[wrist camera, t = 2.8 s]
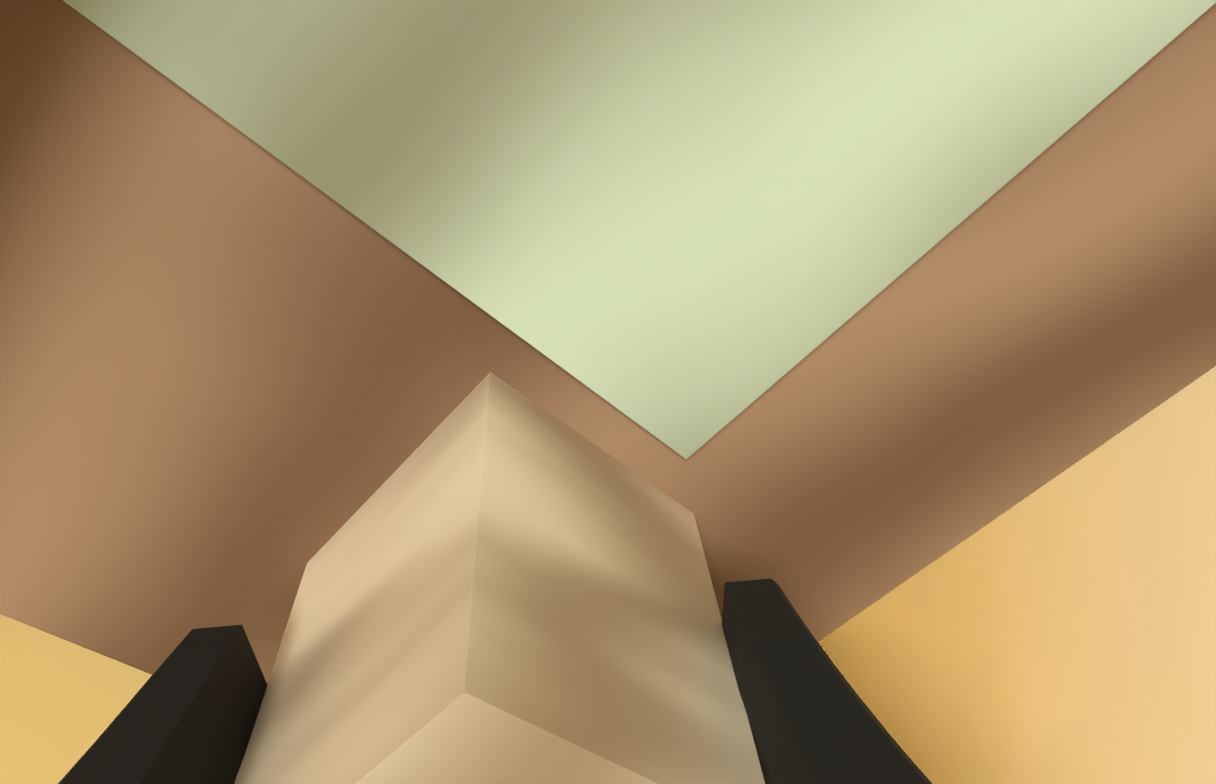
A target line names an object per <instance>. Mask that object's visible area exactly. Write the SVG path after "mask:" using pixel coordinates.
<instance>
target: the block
mask: <svg viewBox="0 0 1216 784" xmlns="http://www.w3.org/2000/svg"><path fill="white" fill-rule="evenodd" d="M234 784H765V781H764V777H763V774H762V770H761V766H760V762H759V759H758V755H757V751H756V747H755V743H754V740H753V736H752V732H751V728H750V724H749V721H748V717H747V713H746V710H745V707H744V704H743V701H742V698H741V695H740V692H739V689H738V685H737V682H736V678H735V674H734V670H733V666H732V663H731V659H730V655H729V651H728V647H727V644H726V640H725V636H724V632H723V628H722V619H721V615H720V611H719V607H718V603H717V600H716V596H715V592H714V588H713V584H712V581H711V577H710V573H709V569H708V566H707V562H706V558H705V554H704V550H703V547H702V543H701V539H700V535H699V532H698V528H697V524H696V520H695V516H694V513H692V512H691V511H689V510H688V509H686V508H685V507H684V506H682V505H681V504H679V503H678V502H676V501H675V500H674V499H672V498H671V497H669V496H668V495H666V494H665V493H664V492H662V491H661V490H659V489H658V488H656V487H655V486H653V485H652V484H651V483H649V482H648V481H646V480H645V479H643V478H642V477H641V476H639V475H638V474H636V473H635V472H633V471H632V470H631V469H629V468H628V467H626V466H625V465H623V464H622V463H620V462H619V461H618V460H616V459H615V458H613V457H612V456H610V455H609V454H608V453H606V452H605V451H603V450H602V449H600V448H599V447H598V446H596V445H595V444H593V443H592V442H590V441H589V440H588V439H586V438H585V437H583V436H582V435H580V434H579V433H577V432H576V431H575V430H573V429H572V428H570V427H569V426H567V425H566V424H565V423H563V422H562V421H560V420H559V419H557V418H556V417H555V416H553V415H552V414H550V413H549V412H547V411H546V410H544V409H543V408H542V407H540V406H539V405H537V404H536V403H534V402H533V401H532V400H530V399H529V398H527V397H526V396H524V395H523V394H522V393H520V392H519V391H517V390H516V389H514V388H513V387H512V386H510V385H509V384H507V383H506V382H504V381H503V380H501V379H500V378H499V377H497V376H496V375H494V374H493V373H491V372H490V373H489V374H488V375H487V376H486V377H485V378H484V379H483V380H482V381H481V382H480V383H479V384H478V385H477V386H476V387H475V389H474V390H473V391H472V392H471V393H470V394H469V395H468V396H467V397H466V398H465V399H464V400H463V401H462V402H461V403H460V404H459V405H458V406H457V407H456V408H455V409H454V410H453V411H452V412H451V414H450V415H449V416H448V417H447V418H446V419H445V420H444V421H443V422H442V423H441V424H440V425H439V426H438V427H437V428H436V429H435V430H434V431H433V432H432V433H431V434H430V435H429V436H428V438H427V439H426V440H425V441H424V442H423V443H422V444H421V445H420V446H419V447H418V448H417V449H416V450H415V451H414V452H413V453H412V454H411V455H410V456H409V457H408V458H407V459H406V460H405V462H404V463H403V464H402V465H401V466H400V467H399V468H398V469H397V470H396V471H395V472H394V473H393V474H392V475H391V476H390V477H389V478H388V479H387V480H386V481H385V482H384V483H383V484H382V486H381V487H380V488H379V489H378V490H377V491H376V492H375V493H374V494H373V495H372V496H371V497H370V498H369V499H368V500H367V501H366V502H365V503H364V504H363V505H362V506H361V507H360V508H359V509H358V511H357V512H356V513H355V514H354V515H353V516H352V517H351V518H350V519H349V520H348V521H347V522H346V523H345V524H344V525H343V526H342V527H341V528H340V529H339V530H338V531H337V532H336V533H335V535H334V536H333V537H332V538H331V539H330V540H329V541H328V542H327V543H326V544H325V545H324V546H323V547H322V548H321V549H320V550H319V551H318V552H317V553H316V554H315V555H314V556H313V557H312V559H311V560H310V561H309V562H308V563H307V565H306V568H305V571H304V574H303V577H302V580H301V583H300V586H299V589H298V592H297V595H296V598H295V601H294V604H293V607H292V610H291V613H290V616H289V619H288V622H287V625H286V628H285V631H284V635H283V638H282V641H281V644H280V647H279V650H278V653H277V656H276V659H275V662H274V665H273V668H272V671H271V674H270V677H269V680H268V683H267V688H266V691H265V694H264V697H263V701H262V704H261V707H260V710H259V713H258V716H257V719H256V722H255V725H254V728H253V731H252V734H251V737H250V740H249V743H248V746H247V749H246V752H245V755H244V758H243V761H242V763H241V766H240V769H239V771H238V774H237V777H236V780H235V783H234Z"/></svg>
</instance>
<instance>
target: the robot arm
mask: <svg viewBox="0 0 1216 784" xmlns="http://www.w3.org/2000/svg"><path fill="white" fill-rule="evenodd" d="M722 628H723V632H724V636H725V640H726V644H727V647H728V651H729V655H730V659H731V663H732V666H733V670H734V674H735V678H736V682H737V685H738V689H739V692H740V695H741V698H742V701H743V704H744V707H745V710H746V713H747V717H748V721H749V724H750V728H751V732H752V736H753V740H754V743H755V747H756V751H757V755H758V759H759V762H760V766H761V770H762V774H763V777H764V781H765V784H932V783H931V782H930V781H929V780H928V778H927V777H926V776H925V775H924V774H923V773H922V772H921V770H920V769H919V768H918V767H917V766H916V765H915V764H914V763H913V761H912V760H911V759H910V758H909V757H908V756H907V754H906V753H905V752H904V751H903V750H902V749H901V747H900V746H899V745H898V744H897V743H896V741H895V740H894V739H893V738H892V737H891V736H890V734H889V733H888V732H887V731H886V729H885V728H884V727H883V726H882V724H881V723H880V722H879V721H878V720H877V718H876V717H875V716H874V715H873V713H872V712H871V711H870V710H869V708H868V707H867V706H866V705H865V703H864V702H863V701H862V700H861V698H860V697H859V696H858V695H857V693H856V692H855V691H854V690H853V688H852V687H851V686H850V685H849V683H848V682H847V681H846V679H845V678H844V677H843V675H842V674H841V673H840V672H839V670H838V669H837V668H836V666H835V665H834V664H833V662H832V661H831V659H830V658H829V657H828V655H827V654H826V653H825V651H824V650H823V649H822V647H821V646H820V645H819V643H818V642H817V640H816V639H815V638H814V636H813V635H812V633H811V632H810V631H809V629H808V628H807V626H806V625H805V624H804V622H803V621H802V619H801V618H800V616H799V615H798V613H797V612H796V610H795V609H794V607H793V606H792V604H791V603H790V601H789V600H788V598H787V597H786V595H785V594H784V592H783V591H782V589H781V588H780V586H779V584H777V583H776V582H775V581H774V580H772V579H771V578H769V579H758V580H747V581H735V582H725V583H724V598H723V613H722ZM266 688H267V682H266V680H265V678H264V675H263V673H262V671H261V668H260V666H259V664H258V661H257V659H256V656H255V654H254V652H253V649H252V647H251V645H250V642H249V640H248V638H247V635H246V633H245V630H244V628H243V626H242V625H232V626H220V627H209V628H197V629H192V630H191V631H190V632H189V634H188V635H187V636H186V637H185V638H184V639H183V640H182V641H181V643H180V644H179V645H178V646H177V647H176V648H175V649H174V651H173V652H172V653H171V654H170V655H169V656H168V657H167V659H166V660H165V661H164V662H163V663H162V664H161V666H160V667H159V668H158V669H157V670H156V671H155V673H154V674H153V675H152V676H151V677H150V678H149V680H148V681H147V682H146V683H145V684H144V686H143V687H142V688H141V689H140V690H139V691H138V693H137V694H136V695H135V696H134V697H133V698H132V700H131V701H130V702H129V703H128V704H127V706H126V707H125V708H124V709H123V710H122V711H121V713H120V714H119V715H118V716H117V717H116V718H115V719H114V721H113V722H112V723H111V724H110V725H109V726H108V728H107V729H106V730H105V731H104V732H103V733H102V735H101V736H100V737H99V738H98V739H97V740H96V742H95V743H94V744H93V745H92V746H91V747H90V748H89V749H88V751H87V752H86V753H85V754H84V755H83V756H82V757H81V759H80V760H79V761H78V762H77V763H76V764H75V765H74V766H73V768H72V769H71V770H70V771H69V772H68V773H67V774H66V775H65V777H64V778H63V779H62V780H61V781H60V782H59V783H58V784H234V783H235V780H236V777H237V774H238V771H239V769H240V766H241V763H242V761H243V758H244V755H245V752H246V749H247V746H248V743H249V740H250V737H251V734H252V731H253V728H254V725H255V722H256V719H257V716H258V713H259V710H260V707H261V704H262V701H263V697H264V694H265V691H266Z"/></svg>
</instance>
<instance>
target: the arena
mask: <svg viewBox="0 0 1216 784" xmlns="http://www.w3.org/2000/svg"><path fill="white" fill-rule="evenodd" d="M1215 366H1216V0H0V614H2V615H4V616H7V617H9V618H12V619H14V620H17V621H19V622H22V623H24V624H27V625H29V626H32V627H34V628H37V629H39V630H42V631H44V632H47V633H49V634H52V635H54V636H57V637H59V638H62V639H64V640H67V641H69V642H72V643H74V644H77V645H79V646H82V647H84V648H87V649H89V650H92V651H94V652H97V653H99V654H102V655H104V656H107V657H109V658H112V659H114V660H117V661H119V662H122V663H124V664H127V665H129V666H132V667H134V668H137V669H139V670H142V671H144V672H147V673H149V674H152V675H153V674H154V673H155V671H156V670H157V669H158V668H159V667H160V666H161V664H162V663H163V662H164V661H165V660H166V659H167V657H168V656H169V655H170V654H171V653H172V652H173V651H174V649H175V648H176V647H177V646H178V645H179V644H180V643H181V641H182V640H183V639H184V638H185V637H186V636H187V635H188V634H189V632H190V631H191V630H192V629H197V628H209V627H220V626H232V625H242V626H243V628H244V630H245V633H246V635H247V638H248V640H249V642H250V645H251V647H252V649H253V652H254V654H255V656H256V659H257V661H258V664H259V666H260V668H261V671H262V673H263V675H264V678H265V680H266V682H267V683H268V680H269V677H270V674H271V671H272V668H273V665H274V662H275V659H276V656H277V653H278V650H279V647H280V644H281V641H282V638H283V635H284V631H285V628H286V625H287V622H288V619H289V616H290V613H291V610H292V607H293V604H294V601H295V598H296V595H297V592H298V589H299V586H300V583H301V580H302V577H303V574H304V571H305V568H306V565H307V563H308V562H309V561H310V560H311V559H312V557H313V556H314V555H315V554H316V553H317V552H318V551H319V550H320V549H321V548H322V547H323V546H324V545H325V544H326V543H327V542H328V541H329V540H330V539H331V538H332V537H333V536H334V535H335V533H336V532H337V531H338V530H339V529H340V528H341V527H342V526H343V525H344V524H345V523H346V522H347V521H348V520H349V519H350V518H351V517H352V516H353V515H354V514H355V513H356V512H357V511H358V509H359V508H360V507H361V506H362V505H363V504H364V503H365V502H366V501H367V500H368V499H369V498H370V497H371V496H372V495H373V494H374V493H375V492H376V491H377V490H378V489H379V488H380V487H381V486H382V484H383V483H384V482H385V481H386V480H387V479H388V478H389V477H390V476H391V475H392V474H393V473H394V472H395V471H396V470H397V469H398V468H399V467H400V466H401V465H402V464H403V463H404V462H405V460H406V459H407V458H408V457H409V456H410V455H411V454H412V453H413V452H414V451H415V450H416V449H417V448H418V447H419V446H420V445H421V444H422V443H423V442H424V441H425V440H426V439H427V438H428V436H429V435H430V434H431V433H432V432H433V431H434V430H435V429H436V428H437V427H438V426H439V425H440V424H441V423H442V422H443V421H444V420H445V419H446V418H447V417H448V416H449V415H450V414H451V412H452V411H453V410H454V409H455V408H456V407H457V406H458V405H459V404H460V403H461V402H462V401H463V400H464V399H465V398H466V397H467V396H468V395H469V394H470V393H471V392H472V391H473V390H474V389H475V387H476V386H477V385H478V384H479V383H480V382H481V381H482V380H483V379H484V378H485V377H486V376H487V375H488V374H489V373H490V372H491V373H493V374H494V375H496V376H497V377H499V378H500V379H501V380H503V381H504V382H506V383H507V384H509V385H510V386H512V387H513V388H514V389H516V390H517V391H519V392H520V393H522V394H523V395H524V396H526V397H527V398H529V399H530V400H532V401H533V402H534V403H536V404H537V405H539V406H540V407H542V408H543V409H544V410H546V411H547V412H549V413H550V414H552V415H553V416H555V417H556V418H557V419H559V420H560V421H562V422H563V423H565V424H566V425H567V426H569V427H570V428H572V429H573V430H575V431H576V432H577V433H579V434H580V435H582V436H583V437H585V438H586V439H588V440H589V441H590V442H592V443H593V444H595V445H596V446H598V447H599V448H600V449H602V450H603V451H605V452H606V453H608V454H609V455H610V456H612V457H613V458H615V459H616V460H618V461H619V462H620V463H622V464H623V465H625V466H626V467H628V468H629V469H631V470H632V471H633V472H635V473H636V474H638V475H639V476H641V477H642V478H643V479H645V480H646V481H648V482H649V483H651V484H652V485H653V486H655V487H656V488H658V489H659V490H661V491H662V492H664V493H665V494H666V495H668V496H669V497H671V498H672V499H674V500H675V501H676V502H678V503H679V504H681V505H682V506H684V507H685V508H686V509H688V510H689V511H691V512H692V513H694V516H695V520H696V524H697V528H698V532H699V535H700V539H701V543H702V547H703V550H704V554H705V558H706V562H707V566H708V569H709V573H710V577H711V581H712V584H713V588H714V592H715V596H716V600H717V603H718V607H719V611H720V615H721V619H722V613H723V598H724V583H725V582H735V581H747V580H758V579H769V578H771V579H772V580H774V581H775V582H776V583H777V584H779V586H780V588H781V589H782V591H783V592H784V594H785V595H786V597H787V598H788V600H789V601H790V603H791V604H792V606H793V607H794V609H795V610H796V612H797V613H798V615H799V616H800V618H801V619H802V621H803V622H804V624H805V625H806V626H807V628H808V629H809V631H810V632H811V633H812V635H813V636H814V638H815V639H816V640H817V642H818V641H819V640H821V639H822V638H824V637H825V636H827V635H828V634H829V633H831V632H832V631H834V630H835V629H837V628H838V627H840V626H841V625H842V624H844V623H845V622H847V621H848V620H850V619H851V618H853V617H854V616H855V615H857V614H858V613H860V612H861V611H863V610H864V609H866V608H867V607H868V606H870V605H871V604H873V603H874V602H876V601H877V600H879V599H880V598H881V597H883V596H884V595H886V594H887V593H889V592H890V591H892V590H893V589H894V588H896V587H897V586H899V585H900V584H902V583H903V582H905V581H906V580H907V579H909V578H910V577H912V576H913V575H915V574H916V573H918V572H919V571H920V570H922V569H923V568H925V567H926V566H928V565H929V564H931V563H932V562H933V561H935V560H936V559H938V558H939V557H941V556H942V555H943V554H945V553H946V552H948V551H949V550H951V549H952V548H954V547H955V546H956V545H958V544H959V543H961V542H962V541H964V540H965V539H967V538H968V537H969V536H971V535H972V534H974V533H975V532H977V531H978V530H980V529H981V528H982V527H984V526H985V525H987V524H988V523H990V522H991V521H993V520H994V519H995V518H997V517H998V516H1000V515H1001V514H1003V513H1004V512H1006V511H1007V510H1008V509H1010V508H1011V507H1013V506H1014V505H1016V504H1017V503H1019V502H1020V501H1021V500H1023V499H1024V498H1026V497H1027V496H1029V495H1030V494H1032V493H1033V492H1034V491H1036V490H1037V489H1039V488H1040V487H1042V486H1043V485H1045V484H1046V483H1047V482H1049V481H1050V480H1052V479H1053V478H1055V477H1056V476H1057V475H1059V474H1060V473H1062V472H1063V471H1065V470H1066V469H1068V468H1069V467H1070V466H1072V465H1073V464H1075V463H1076V462H1078V461H1079V460H1081V459H1082V458H1083V457H1085V456H1086V455H1088V454H1089V453H1091V452H1092V451H1094V450H1095V449H1096V448H1098V447H1099V446H1101V445H1102V444H1104V443H1105V442H1107V441H1108V440H1109V439H1111V438H1112V437H1114V436H1115V435H1117V434H1118V433H1120V432H1121V431H1122V430H1124V429H1125V428H1127V427H1128V426H1130V425H1131V424H1133V423H1134V422H1135V421H1137V420H1138V419H1140V418H1141V417H1143V416H1144V415H1146V414H1147V413H1148V412H1150V411H1151V410H1153V409H1154V408H1156V407H1157V406H1159V405H1160V404H1161V403H1163V402H1164V401H1166V400H1167V399H1169V398H1170V397H1171V396H1173V395H1174V394H1176V393H1177V392H1179V391H1180V390H1182V389H1183V388H1184V387H1186V386H1187V385H1189V384H1190V383H1192V382H1193V381H1195V380H1196V379H1197V378H1199V377H1200V376H1202V375H1203V374H1205V373H1206V372H1208V371H1209V370H1210V369H1212V368H1213V367H1215Z"/></svg>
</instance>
